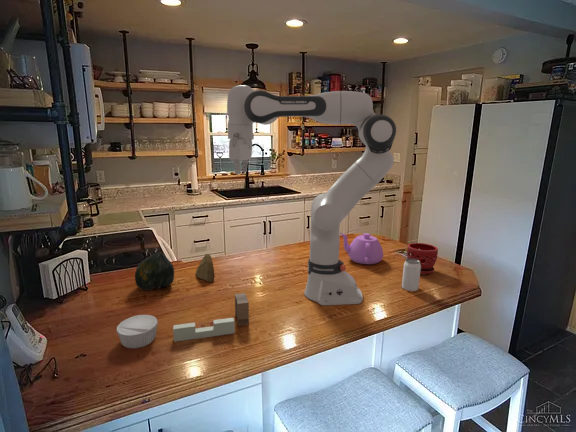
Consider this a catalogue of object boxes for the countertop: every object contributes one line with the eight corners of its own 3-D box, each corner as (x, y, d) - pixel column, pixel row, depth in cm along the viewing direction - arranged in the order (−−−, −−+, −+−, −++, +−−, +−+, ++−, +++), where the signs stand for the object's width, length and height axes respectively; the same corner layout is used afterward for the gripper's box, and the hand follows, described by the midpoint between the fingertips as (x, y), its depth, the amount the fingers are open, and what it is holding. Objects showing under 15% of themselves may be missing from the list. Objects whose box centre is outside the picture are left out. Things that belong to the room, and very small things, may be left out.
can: (420, 288, 141) (424, 260, 138) (414, 293, 137) (417, 265, 134) (405, 283, 146) (408, 256, 143) (398, 288, 141) (401, 260, 138)
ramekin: (117, 355, 96) (115, 338, 95) (118, 334, 106) (117, 318, 105) (159, 346, 100) (158, 329, 99) (157, 326, 110) (156, 311, 109)
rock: (220, 276, 143) (220, 265, 152) (207, 263, 140) (207, 251, 149) (200, 291, 144) (200, 279, 153) (186, 278, 140) (187, 266, 149)
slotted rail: (233, 329, 109) (233, 317, 108) (234, 333, 107) (234, 321, 106) (174, 337, 104) (173, 325, 104) (174, 341, 102) (173, 329, 101)
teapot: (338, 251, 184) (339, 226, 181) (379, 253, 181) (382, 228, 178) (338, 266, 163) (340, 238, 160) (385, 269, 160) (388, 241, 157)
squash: (121, 275, 135) (138, 252, 129) (151, 264, 148) (168, 243, 142) (142, 304, 133) (160, 281, 126) (171, 290, 146) (188, 269, 140)
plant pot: (441, 272, 158) (444, 247, 155) (423, 278, 151) (426, 252, 148) (416, 263, 169) (419, 240, 166) (399, 268, 161) (401, 244, 159)
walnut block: (235, 315, 118) (234, 294, 116) (245, 314, 119) (245, 292, 117) (238, 326, 111) (237, 303, 109) (248, 324, 112) (248, 302, 110)
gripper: (242, 132, 112) (243, 175, 114) (254, 135, 132) (255, 171, 134) (223, 132, 112) (224, 175, 115) (238, 135, 132) (239, 171, 135)
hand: (241, 173), depth 125 cm, fingers open, 8 cm apart
